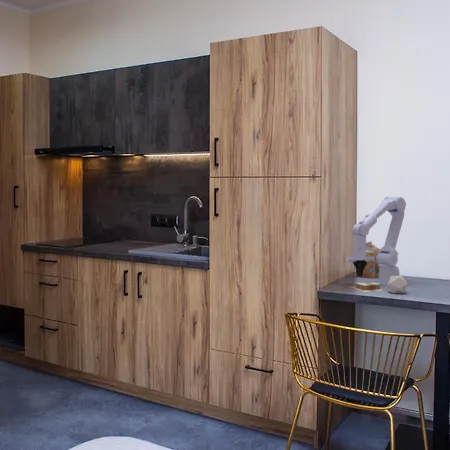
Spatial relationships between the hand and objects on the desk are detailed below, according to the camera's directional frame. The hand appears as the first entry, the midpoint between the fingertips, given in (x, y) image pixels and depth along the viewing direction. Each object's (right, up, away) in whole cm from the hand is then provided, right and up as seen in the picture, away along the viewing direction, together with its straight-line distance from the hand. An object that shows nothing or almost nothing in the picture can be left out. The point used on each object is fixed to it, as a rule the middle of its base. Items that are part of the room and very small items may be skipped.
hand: (359, 276), depth 265 cm
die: (+13, -6, -17) cm, 22 cm away
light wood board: (+2, -6, -6) cm, 8 cm away
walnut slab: (+1, -4, -3) cm, 5 cm away
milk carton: (+12, -4, +31) cm, 34 cm away
